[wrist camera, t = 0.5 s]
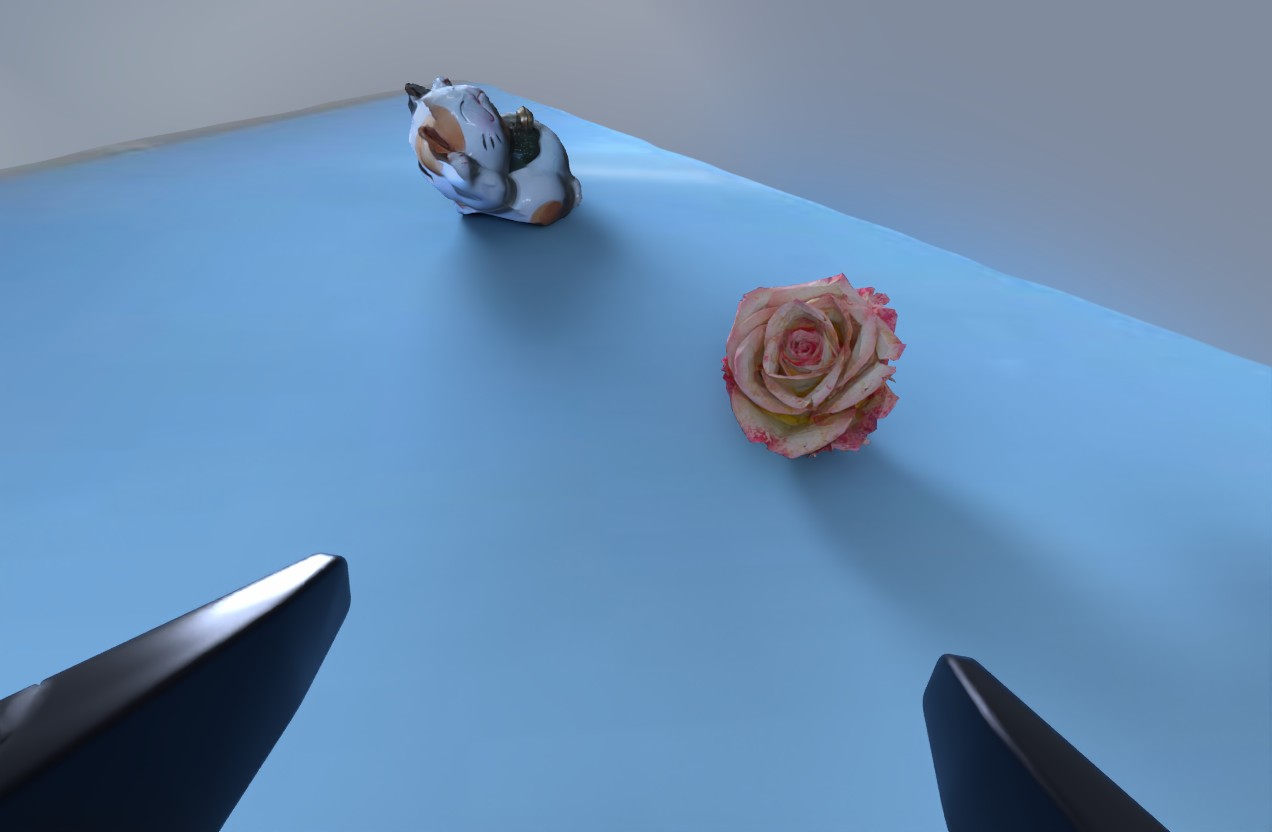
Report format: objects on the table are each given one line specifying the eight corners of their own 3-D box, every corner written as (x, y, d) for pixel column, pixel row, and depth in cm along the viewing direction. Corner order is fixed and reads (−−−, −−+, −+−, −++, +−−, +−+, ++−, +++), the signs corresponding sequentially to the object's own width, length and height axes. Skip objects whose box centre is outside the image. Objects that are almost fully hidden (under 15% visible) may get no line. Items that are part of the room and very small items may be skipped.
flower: (743, 328, 39) (714, 268, 32) (898, 318, 36) (904, 248, 29) (736, 477, 37) (703, 448, 30) (903, 481, 34) (911, 449, 26)
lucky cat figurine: (593, 224, 57) (510, 95, 45) (483, 280, 59) (378, 172, 48) (567, 131, 65) (491, 1, 53) (471, 184, 67) (379, 72, 56)
